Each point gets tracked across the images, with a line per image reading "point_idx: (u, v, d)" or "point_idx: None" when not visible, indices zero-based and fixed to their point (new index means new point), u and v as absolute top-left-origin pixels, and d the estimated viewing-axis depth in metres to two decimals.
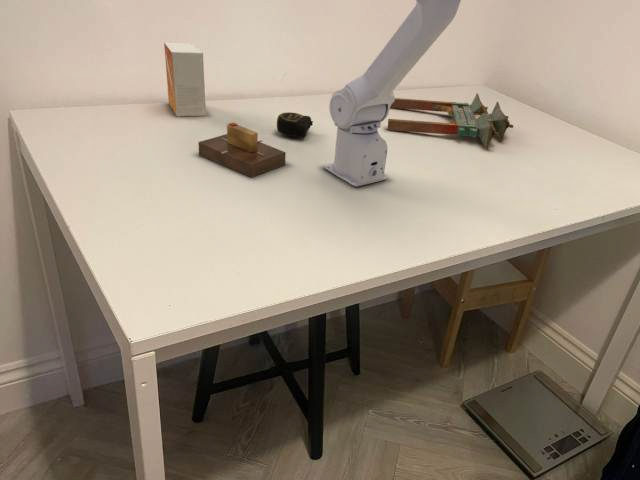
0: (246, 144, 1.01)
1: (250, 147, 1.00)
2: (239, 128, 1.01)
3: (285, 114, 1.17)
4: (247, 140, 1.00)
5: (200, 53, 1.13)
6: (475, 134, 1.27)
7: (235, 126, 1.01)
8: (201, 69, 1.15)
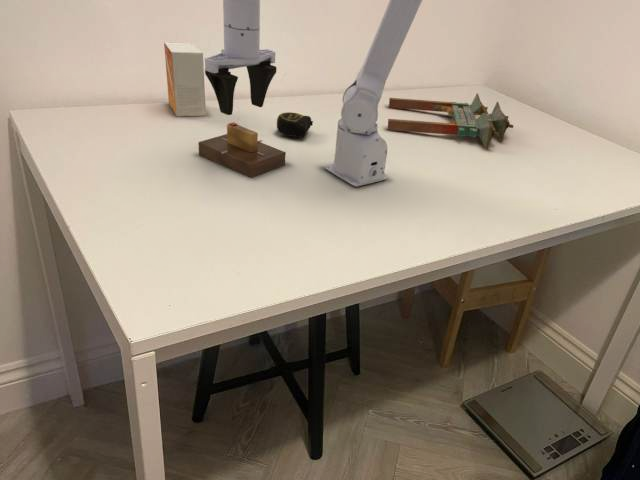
0: (246, 144, 1.01)
1: (250, 147, 1.00)
2: (239, 128, 1.01)
3: (285, 114, 1.17)
4: (247, 140, 1.00)
5: (200, 53, 1.13)
6: (475, 134, 1.27)
7: (235, 126, 1.01)
8: (201, 69, 1.15)
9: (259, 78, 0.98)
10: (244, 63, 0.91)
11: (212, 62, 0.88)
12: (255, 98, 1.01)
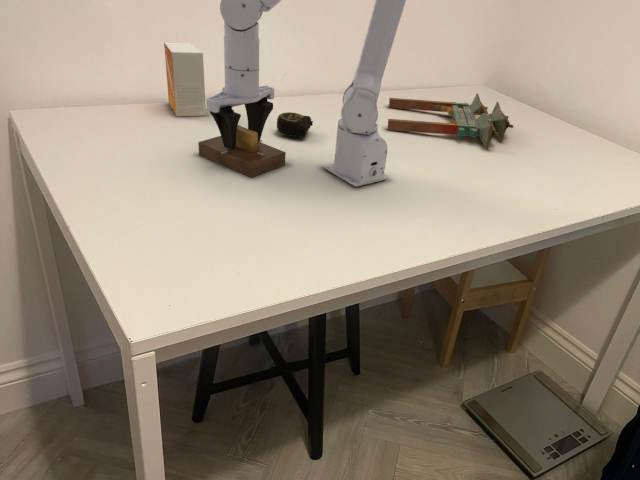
0: (246, 144, 1.01)
1: (250, 147, 1.00)
2: (239, 128, 1.01)
3: (285, 114, 1.17)
4: (247, 140, 1.00)
5: (200, 53, 1.13)
6: (475, 134, 1.27)
7: None
8: (201, 69, 1.15)
9: (256, 114, 1.01)
10: (244, 102, 0.95)
11: (213, 102, 0.91)
12: None
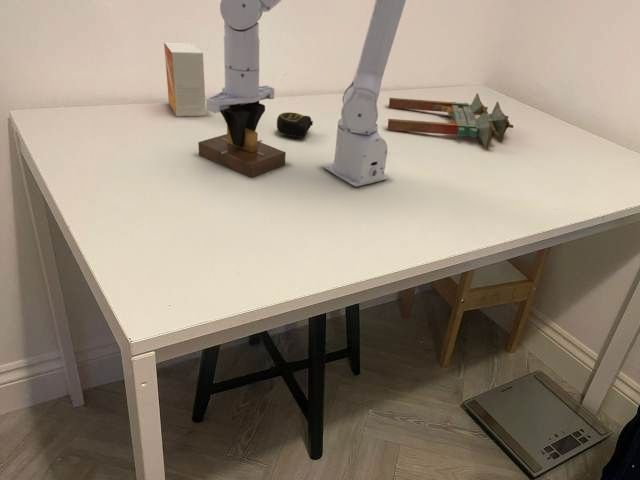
0: (246, 144, 1.01)
1: (250, 147, 1.00)
2: None
3: (285, 114, 1.17)
4: (247, 140, 1.00)
5: (200, 53, 1.13)
6: (475, 134, 1.27)
7: None
8: (201, 69, 1.15)
9: (248, 116, 1.00)
10: (244, 102, 0.95)
11: (213, 102, 0.92)
12: None
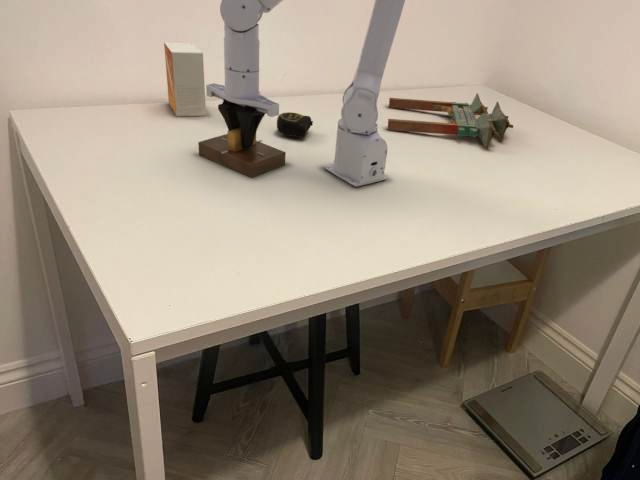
0: None
1: None
2: None
3: (285, 114, 1.17)
4: None
5: (200, 53, 1.13)
6: (475, 134, 1.27)
7: None
8: (201, 69, 1.15)
9: None
10: (223, 97, 0.96)
11: None
12: None
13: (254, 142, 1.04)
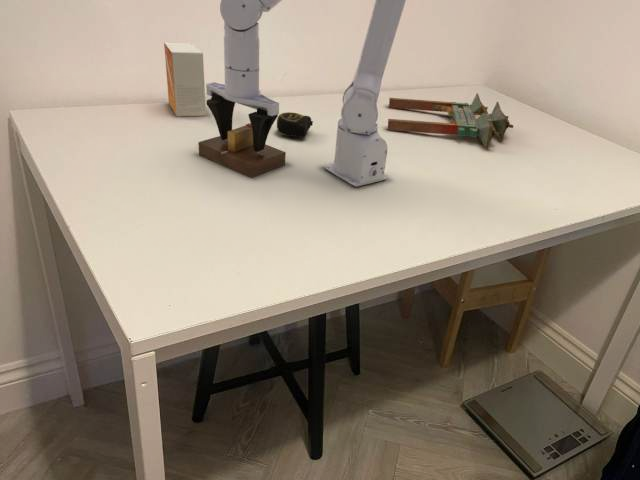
0: None
1: None
2: (243, 127, 1.01)
3: (285, 114, 1.17)
4: None
5: (200, 53, 1.13)
6: (475, 134, 1.27)
7: (246, 126, 1.02)
8: (201, 69, 1.15)
9: None
10: (223, 96, 0.96)
11: None
12: None
13: None
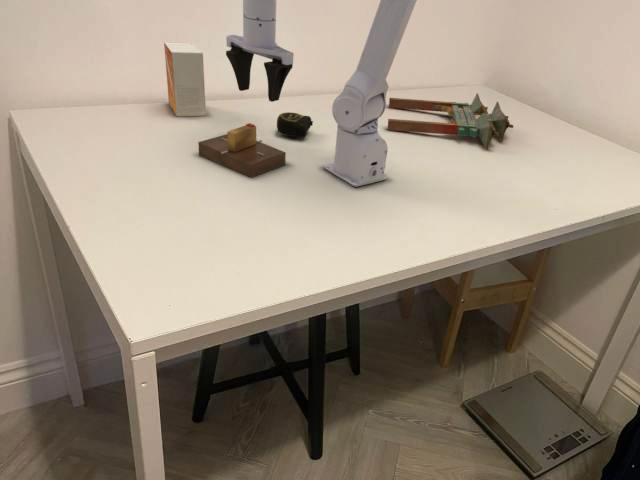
0: None
1: None
2: (243, 127, 1.01)
3: (285, 114, 1.17)
4: None
5: (200, 53, 1.13)
6: (475, 134, 1.27)
7: (246, 126, 1.02)
8: (201, 69, 1.15)
9: None
10: (241, 46, 1.01)
11: (227, 36, 1.04)
12: None
13: (254, 142, 1.04)
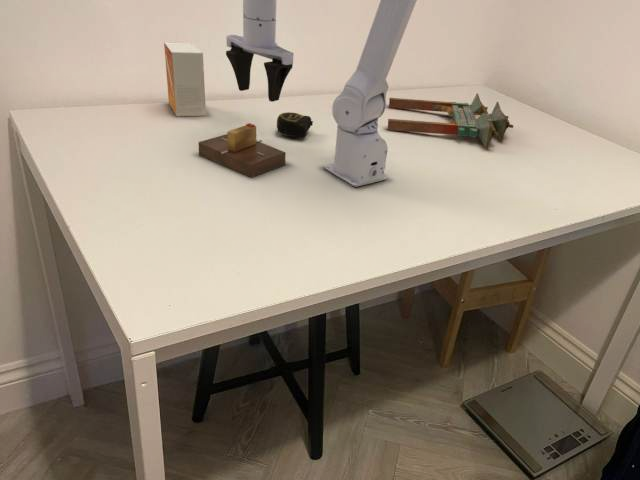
0: None
1: None
2: (243, 127, 1.01)
3: (285, 114, 1.17)
4: None
5: (200, 53, 1.13)
6: (475, 134, 1.27)
7: (246, 126, 1.02)
8: (201, 69, 1.15)
9: None
10: (241, 46, 1.01)
11: (227, 36, 1.04)
12: None
13: (254, 142, 1.04)
